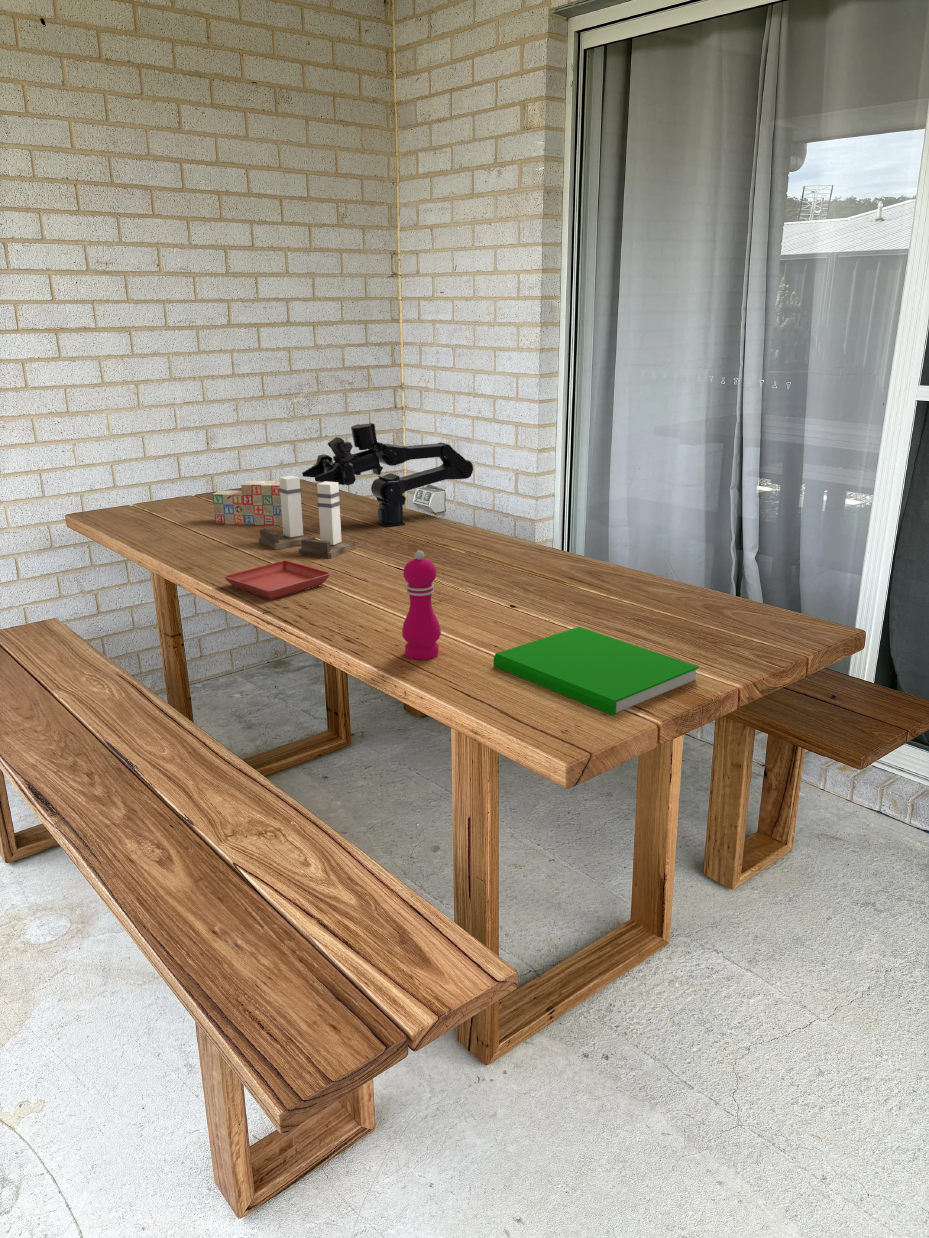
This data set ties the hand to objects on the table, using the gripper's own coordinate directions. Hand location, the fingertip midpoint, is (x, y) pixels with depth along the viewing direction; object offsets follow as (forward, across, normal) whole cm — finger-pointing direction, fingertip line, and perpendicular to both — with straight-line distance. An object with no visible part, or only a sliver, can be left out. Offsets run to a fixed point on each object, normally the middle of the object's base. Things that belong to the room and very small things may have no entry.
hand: (308, 477), depth 261 cm
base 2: (+6, +20, +16) cm, 26 cm away
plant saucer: (+29, +43, +13) cm, 53 cm away
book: (+1, +125, +17) cm, 126 cm away
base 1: (+12, +5, +15) cm, 20 cm away
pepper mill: (+22, +100, +14) cm, 104 cm away
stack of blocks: (+12, -25, +15) cm, 32 cm away
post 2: (+4, +18, +14) cm, 24 cm away
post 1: (+10, +4, +13) cm, 17 cm away
